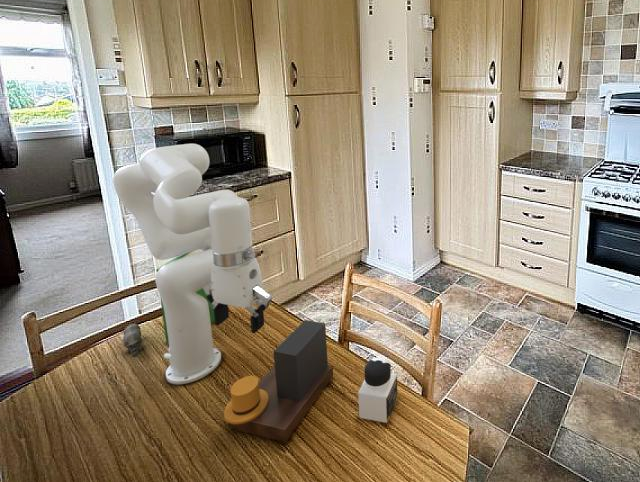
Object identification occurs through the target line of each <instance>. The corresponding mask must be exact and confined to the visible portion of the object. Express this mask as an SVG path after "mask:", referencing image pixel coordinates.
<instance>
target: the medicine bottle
mask: <svg viewBox="0 0 640 482" xmlns="http://www.w3.org/2000/svg"><path fill="white" fill-rule="evenodd" d="M391 367H392V366H391V362H390V361H389V359H387V358H385V357H381V356H378V357H374V358H371V359H370V360H368V362H366V364H365V366H364V380H363V382H362V384H361V386H360V387H359V389H358V391H357V395H358V398H357V399H358V418H360V419H364V420H368V421H373V422H379V423H384V424H388V423H389V421H390V418H391V416H392V413H393V411H394V409H395V406H396V404H397V401H398V398H399V397H398V374H397V373H393V372H392V370H391V369H392V368H391Z"/></svg>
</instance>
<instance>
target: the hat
mask: <svg viewBox="0 0 640 482" xmlns="http://www.w3.org/2000/svg"><path fill="white" fill-rule="evenodd" d="M259 381H260V380H259V378H258V377H257V376H255V375H247V376H244V377H241V378H239V379H238V380H236V381H235V382H234V383H233V384H232V385H231V387H230V398H231V399H230V400H229V402H228V403H227V404H226V406H225V407H224V411H223V418H224V420H225V421H226V423H227V424H228V423H230V424H242V423H246V422H248V421H251V420H252V419H254V418H256V417H257V416H259V415H260V414H261V413H262V412H263V411H264V410H265V408H266V407H267V404H268V401H269V398H268V394H267V392H266V391H264V390H262V389H259Z"/></svg>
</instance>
